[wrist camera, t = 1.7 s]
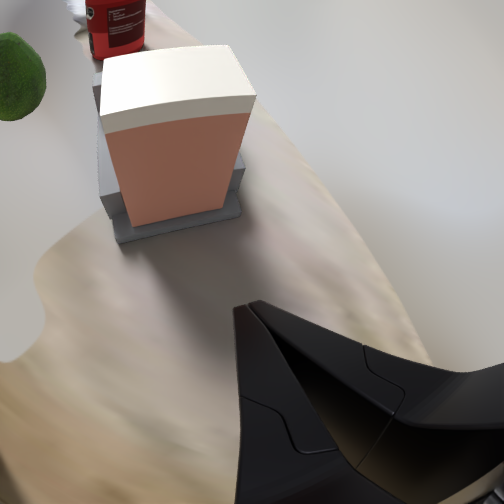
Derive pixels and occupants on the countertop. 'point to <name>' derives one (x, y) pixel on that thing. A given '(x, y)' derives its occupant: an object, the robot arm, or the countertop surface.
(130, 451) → the countertop surface
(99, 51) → the canned food
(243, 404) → the robot arm
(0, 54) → the avocado
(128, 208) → the pink white rectangular block
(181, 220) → the housing
